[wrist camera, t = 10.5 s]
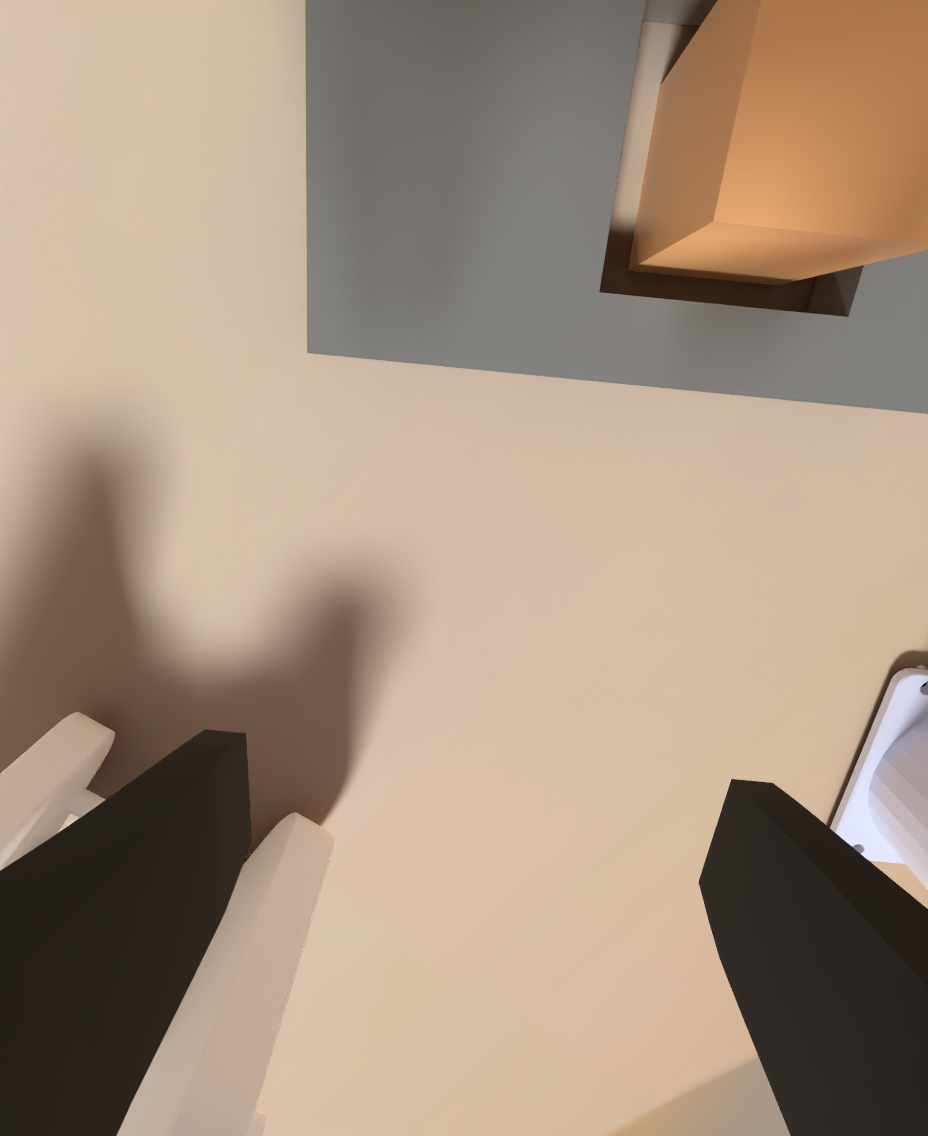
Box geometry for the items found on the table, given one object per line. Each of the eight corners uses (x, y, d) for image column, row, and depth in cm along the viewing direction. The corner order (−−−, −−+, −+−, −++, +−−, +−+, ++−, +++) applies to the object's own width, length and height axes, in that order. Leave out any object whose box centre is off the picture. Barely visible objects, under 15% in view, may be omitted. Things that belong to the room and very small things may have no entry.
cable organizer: (109, 660, 20) (-333, 1027, 9) (361, 807, 22) (245, 1251, 11) (-34, 903, 24) (-447, 1344, 14) (186, 1006, 26) (-20, 1463, 16)
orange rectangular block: (822, 103, 14) (1055, -68, 8) (775, 285, 15) (946, 245, 10) (659, 86, 14) (781, -96, 8) (627, 270, 15) (712, 221, 10)
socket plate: (1088, -180, 12) (1200, -278, 10) (887, 407, 16) (939, 414, 14) (331, -259, 12) (303, -373, 10) (327, 353, 16) (307, 352, 14)
